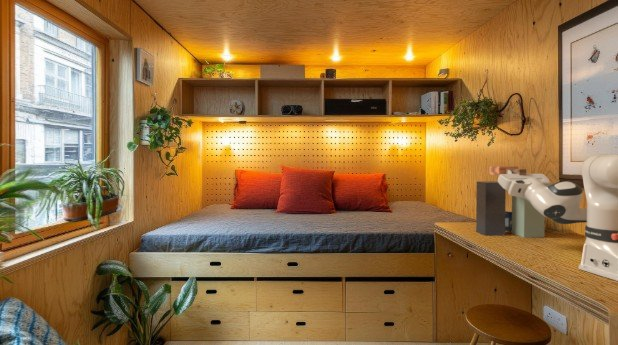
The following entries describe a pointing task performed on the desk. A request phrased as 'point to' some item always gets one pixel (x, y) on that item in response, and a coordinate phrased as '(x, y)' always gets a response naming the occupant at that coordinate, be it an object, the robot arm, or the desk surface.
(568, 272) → the desk surface
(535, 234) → the sage tower
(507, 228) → the vhs cassette tape
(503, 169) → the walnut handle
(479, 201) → the tower
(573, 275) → the desk surface
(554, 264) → the desk surface
